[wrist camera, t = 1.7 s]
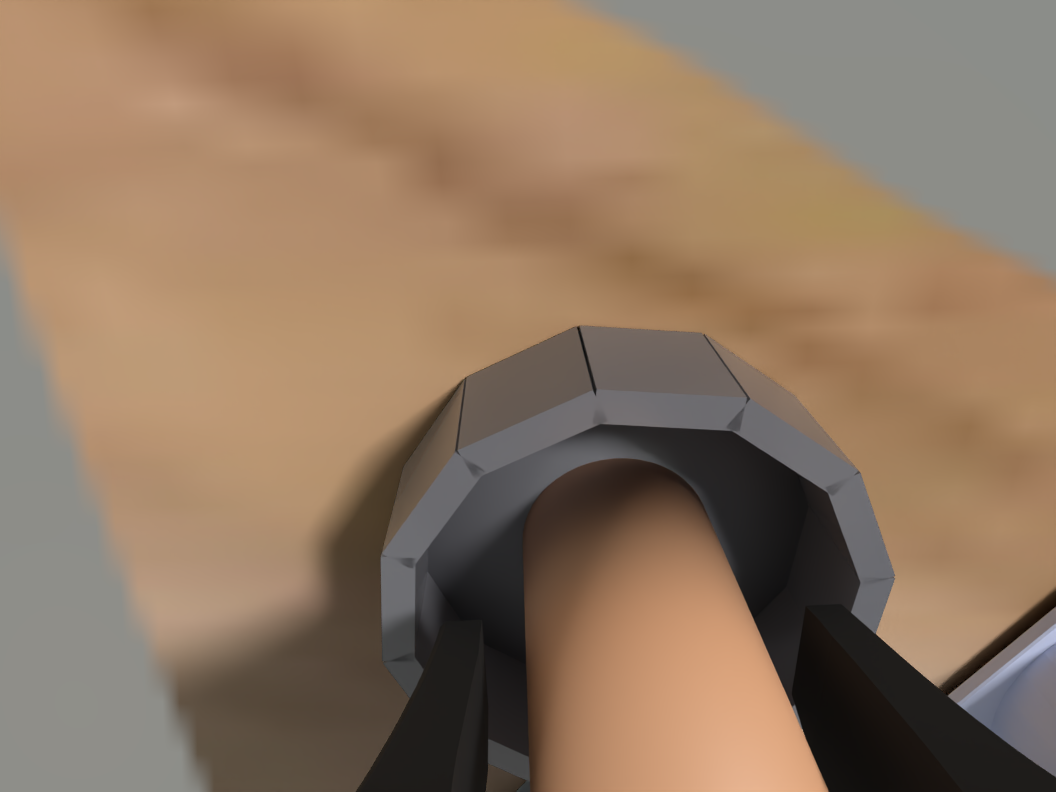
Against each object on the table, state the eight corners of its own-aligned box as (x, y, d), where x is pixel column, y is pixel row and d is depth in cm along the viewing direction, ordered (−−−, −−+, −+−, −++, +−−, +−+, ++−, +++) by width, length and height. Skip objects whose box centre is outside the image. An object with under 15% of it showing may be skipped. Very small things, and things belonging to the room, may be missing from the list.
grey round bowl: (909, 473, 16) (994, 561, 13) (647, 730, 19) (671, 844, 16) (562, 237, 13) (577, 283, 11) (328, 574, 17) (292, 677, 14)
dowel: (747, 516, 16) (957, 918, 8) (632, 637, 17) (726, 1075, 10) (595, 424, 14) (683, 791, 7) (486, 561, 16) (469, 986, 9)
